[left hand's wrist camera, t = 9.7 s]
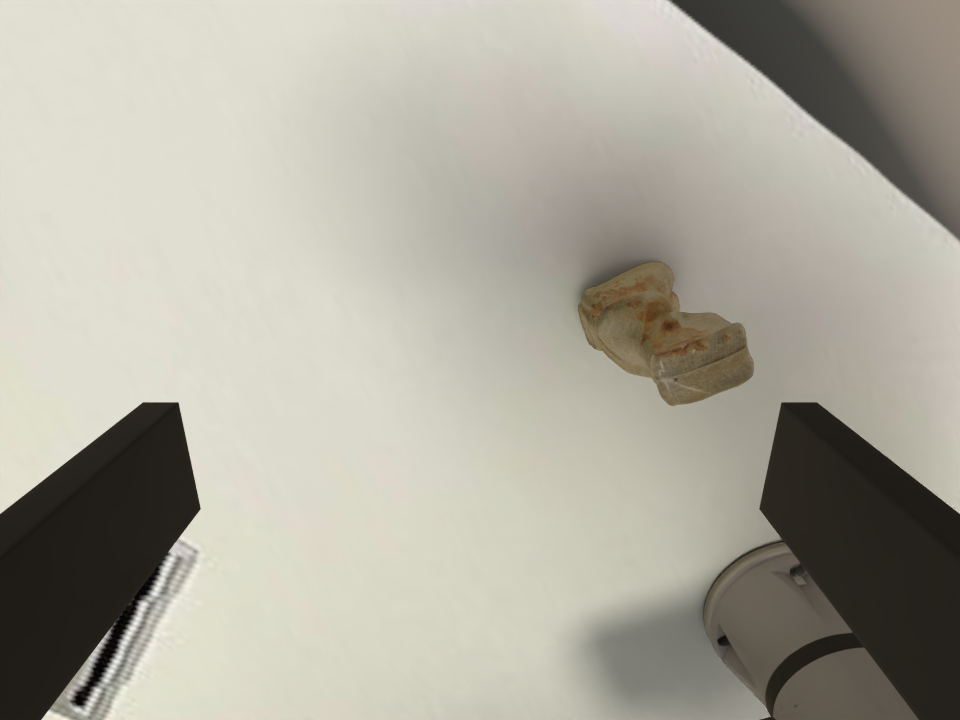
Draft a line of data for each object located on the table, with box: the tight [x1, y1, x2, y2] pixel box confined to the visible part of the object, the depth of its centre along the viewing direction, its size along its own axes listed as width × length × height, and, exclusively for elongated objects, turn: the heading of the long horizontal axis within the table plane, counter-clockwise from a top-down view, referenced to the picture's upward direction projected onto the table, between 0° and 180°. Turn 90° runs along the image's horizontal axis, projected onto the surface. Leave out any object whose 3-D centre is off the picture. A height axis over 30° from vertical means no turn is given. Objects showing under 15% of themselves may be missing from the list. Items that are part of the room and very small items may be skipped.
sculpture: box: [578, 262, 754, 406], centre depth 36 cm, size 6×7×15 cm
